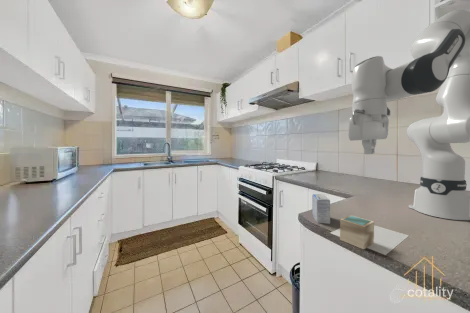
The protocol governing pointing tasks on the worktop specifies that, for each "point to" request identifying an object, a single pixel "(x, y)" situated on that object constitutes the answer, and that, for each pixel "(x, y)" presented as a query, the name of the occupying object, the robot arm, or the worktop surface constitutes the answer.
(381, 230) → the white flat sheet
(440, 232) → the worktop surface
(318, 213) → the medicine box
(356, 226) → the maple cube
